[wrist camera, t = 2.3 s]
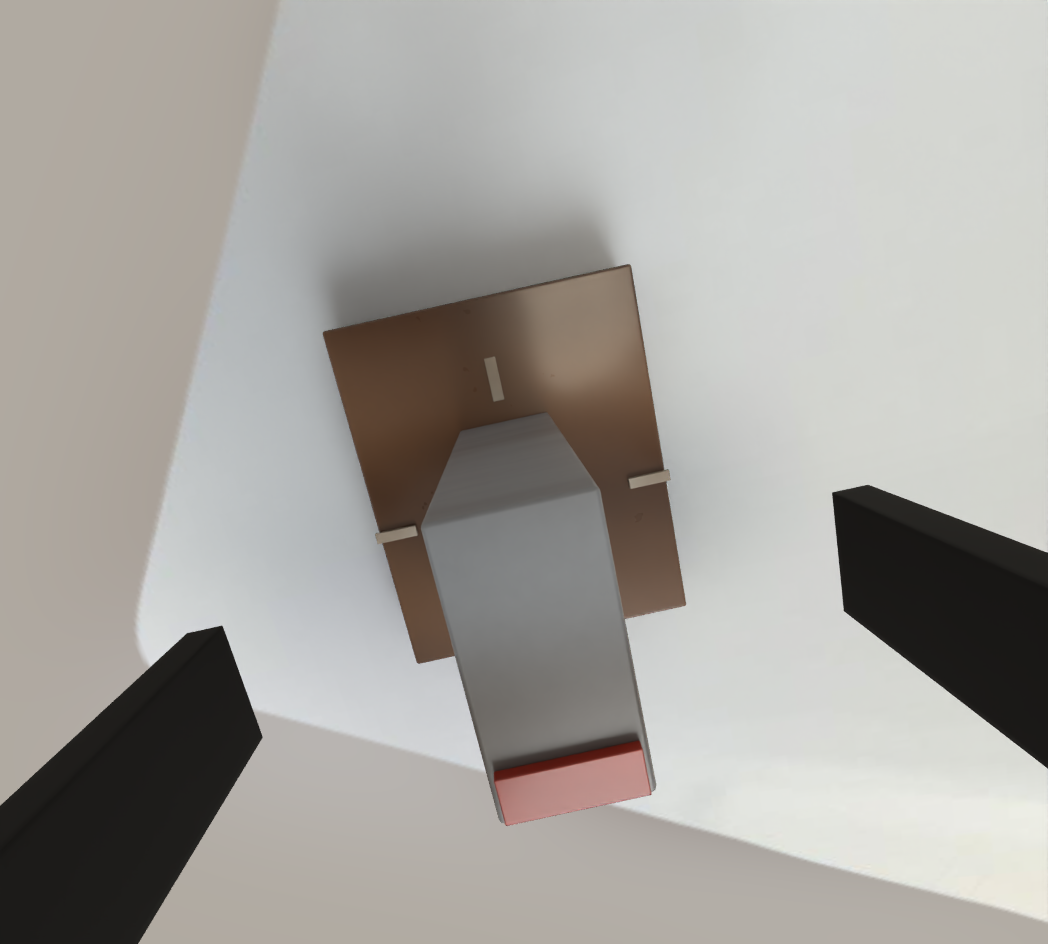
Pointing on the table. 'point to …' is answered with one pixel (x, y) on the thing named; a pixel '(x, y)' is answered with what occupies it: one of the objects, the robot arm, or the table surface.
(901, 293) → the table surface
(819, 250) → the table surface
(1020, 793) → the table surface
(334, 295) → the table surface
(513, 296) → the panel
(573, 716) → the grey slab
